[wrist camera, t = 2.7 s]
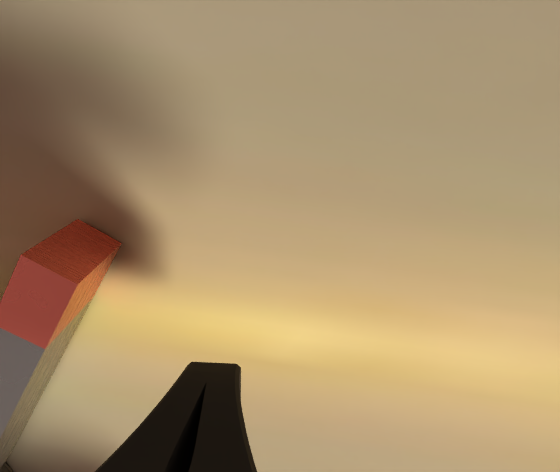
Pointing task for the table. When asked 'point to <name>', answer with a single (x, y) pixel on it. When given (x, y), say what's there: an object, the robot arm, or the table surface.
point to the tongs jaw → (45, 317)
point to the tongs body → (5, 468)
